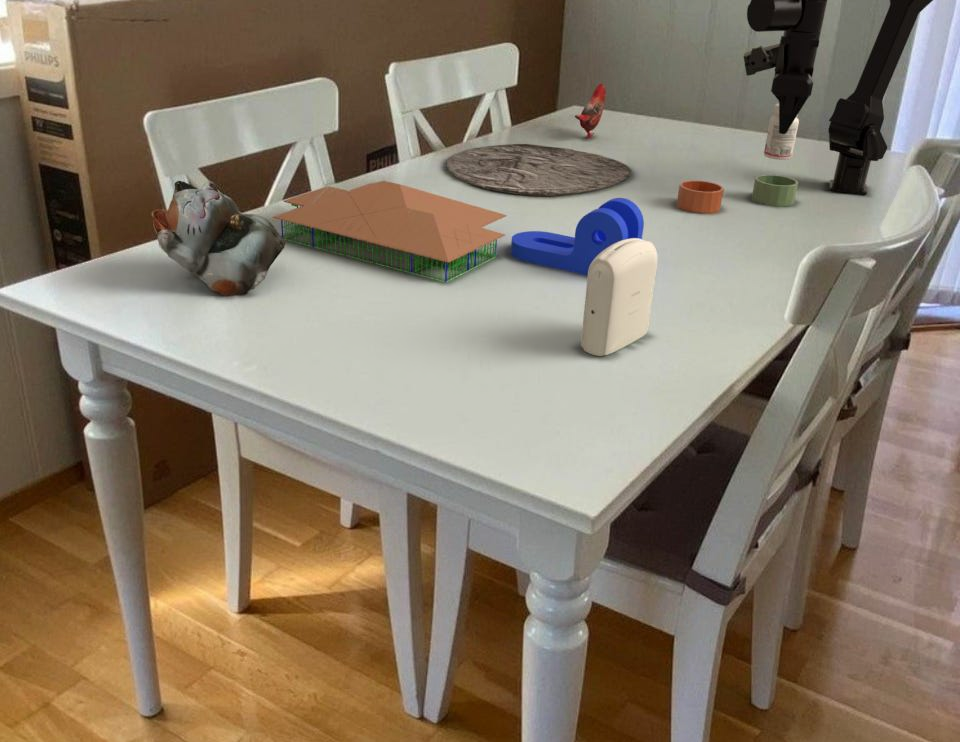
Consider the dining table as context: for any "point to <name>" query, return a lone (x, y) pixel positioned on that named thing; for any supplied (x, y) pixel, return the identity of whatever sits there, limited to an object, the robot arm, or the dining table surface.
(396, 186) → the house
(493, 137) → the dining table surface
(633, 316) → the photo printer
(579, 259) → the bracket
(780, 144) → the pill bottle
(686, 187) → the terracotta cup
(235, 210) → the lucky cat figurine
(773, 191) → the green cup
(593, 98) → the decorative bird figurine
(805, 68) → the robot arm
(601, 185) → the worn metal disc
